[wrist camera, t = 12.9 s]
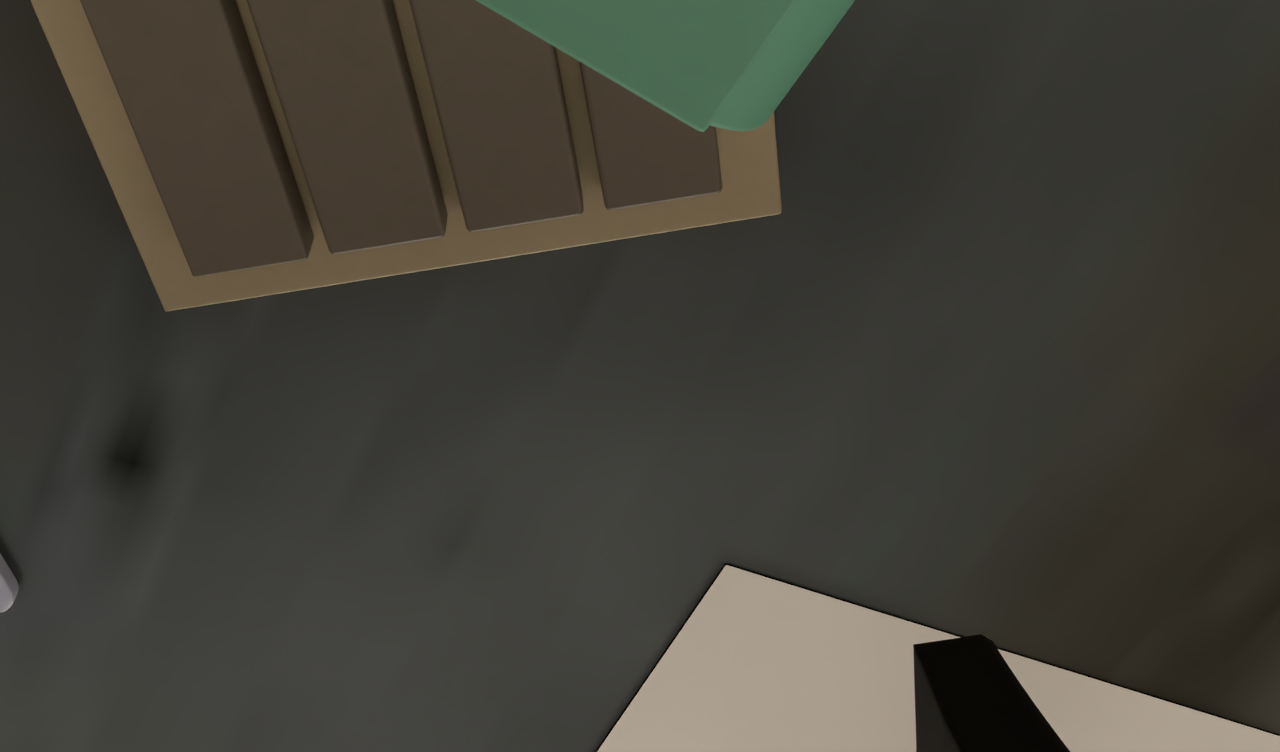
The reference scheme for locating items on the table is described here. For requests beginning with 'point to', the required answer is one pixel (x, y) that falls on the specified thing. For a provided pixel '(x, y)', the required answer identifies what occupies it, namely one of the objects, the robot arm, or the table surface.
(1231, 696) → the table surface
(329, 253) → the brown wooden slab
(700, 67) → the green rectangular block
